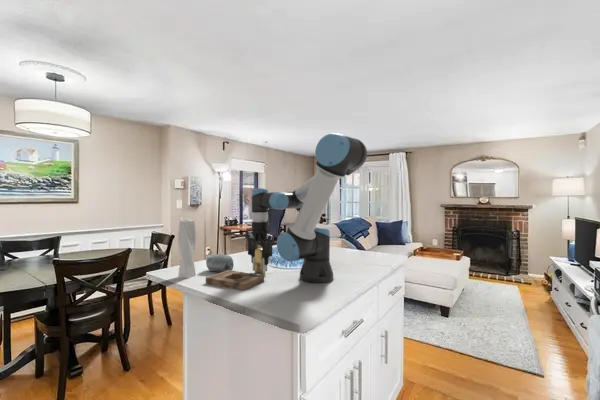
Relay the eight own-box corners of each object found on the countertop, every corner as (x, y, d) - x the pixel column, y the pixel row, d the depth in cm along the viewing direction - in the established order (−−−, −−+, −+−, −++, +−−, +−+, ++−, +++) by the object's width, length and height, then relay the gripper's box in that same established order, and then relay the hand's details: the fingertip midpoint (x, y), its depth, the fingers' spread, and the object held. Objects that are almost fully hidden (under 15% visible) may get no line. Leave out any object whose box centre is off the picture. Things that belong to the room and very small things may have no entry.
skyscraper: (173, 277, 130) (173, 215, 130) (184, 273, 138) (184, 214, 137) (188, 279, 128) (188, 215, 128) (199, 274, 135) (199, 214, 135)
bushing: (267, 273, 137) (267, 248, 137) (261, 276, 132) (261, 250, 132) (258, 272, 139) (258, 247, 139) (252, 275, 135) (252, 249, 135)
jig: (264, 281, 125) (264, 274, 125) (243, 290, 113) (243, 282, 113) (228, 275, 134) (228, 268, 134) (205, 283, 122) (205, 276, 122)
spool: (239, 262, 146) (230, 247, 142) (231, 275, 137) (222, 259, 134) (218, 266, 150) (208, 251, 147) (209, 279, 142) (199, 264, 139)
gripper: (280, 221, 135) (280, 271, 135) (249, 220, 143) (249, 267, 143) (271, 222, 128) (271, 275, 128) (239, 221, 136) (239, 270, 137)
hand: (259, 270), depth 136 cm, fingers closed on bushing, 5 cm apart
